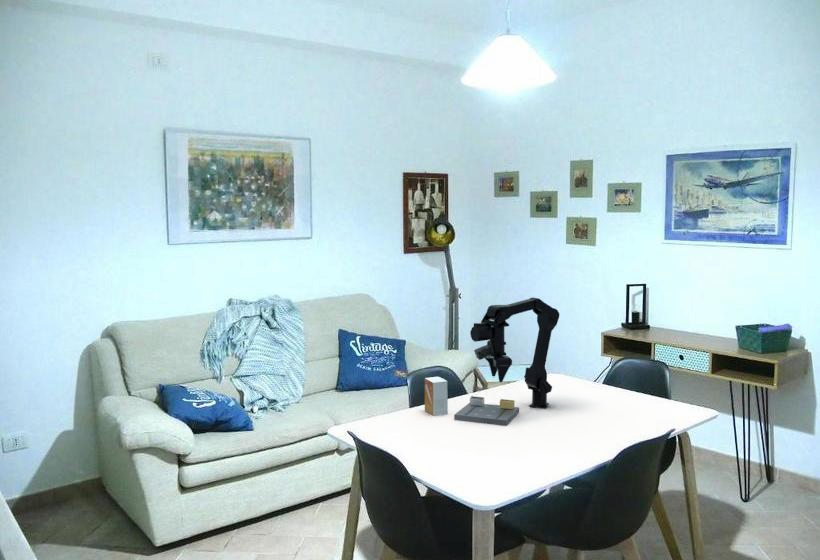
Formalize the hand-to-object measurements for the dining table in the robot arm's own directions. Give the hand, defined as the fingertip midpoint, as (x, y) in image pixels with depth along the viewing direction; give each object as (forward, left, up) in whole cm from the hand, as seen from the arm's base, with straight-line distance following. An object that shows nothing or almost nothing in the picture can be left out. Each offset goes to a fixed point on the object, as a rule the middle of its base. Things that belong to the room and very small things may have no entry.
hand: (497, 379), depth 276 cm
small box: (+6, -23, -14) cm, 27 cm away
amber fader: (-2, +3, -11) cm, 12 cm away
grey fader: (-2, -9, -11) cm, 14 cm away
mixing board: (+4, -3, -14) cm, 14 cm away
